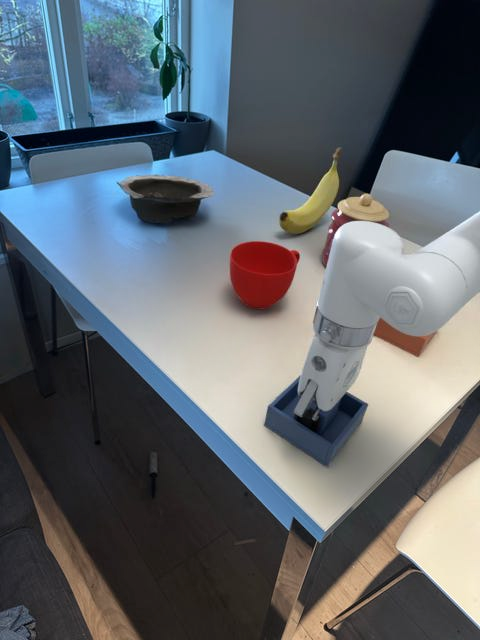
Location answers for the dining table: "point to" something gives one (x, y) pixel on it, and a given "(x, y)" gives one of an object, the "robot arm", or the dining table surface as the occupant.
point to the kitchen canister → (354, 217)
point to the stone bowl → (164, 196)
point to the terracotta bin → (402, 338)
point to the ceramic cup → (262, 272)
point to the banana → (313, 203)
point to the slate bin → (307, 440)
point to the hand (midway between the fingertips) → (315, 418)
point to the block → (324, 417)
